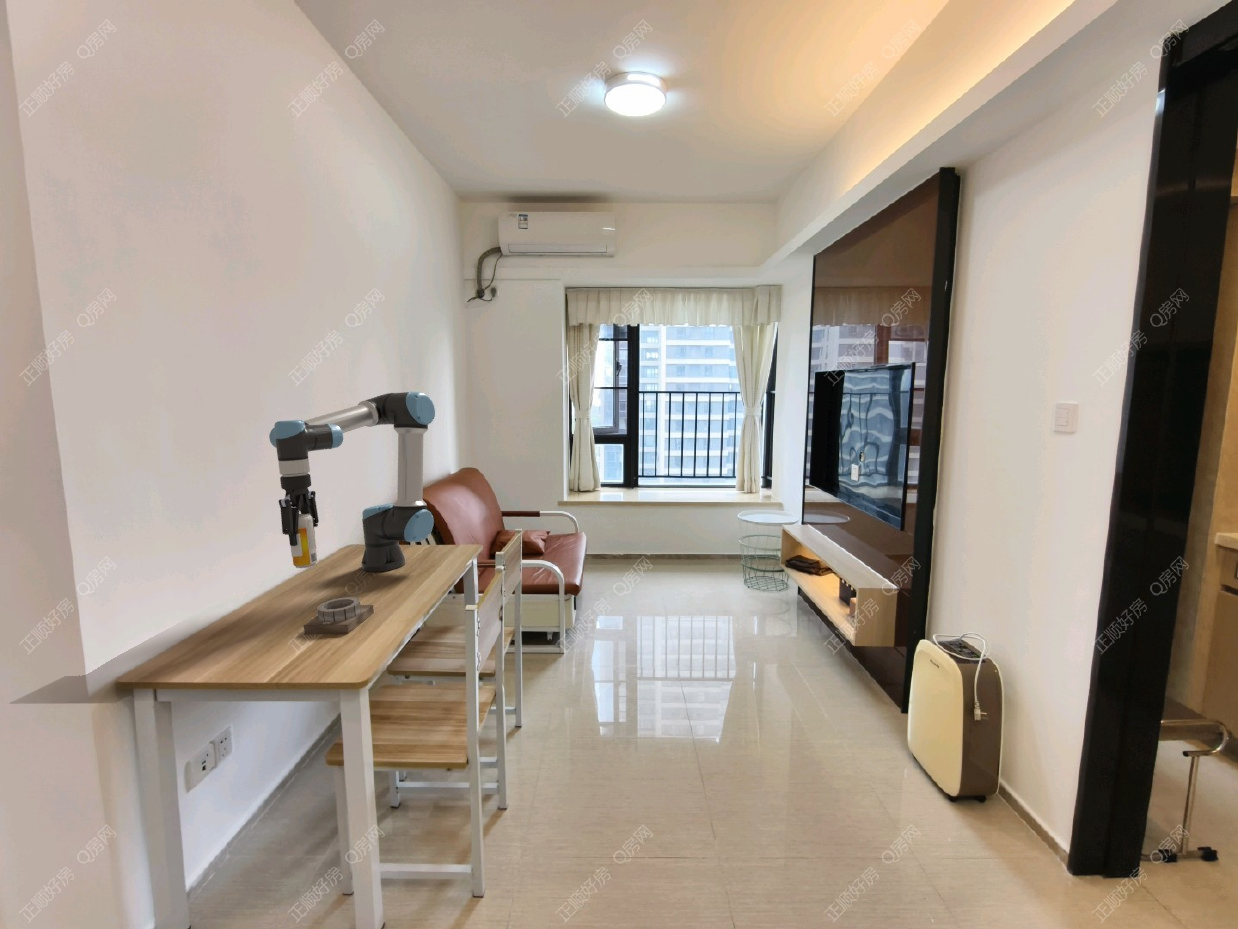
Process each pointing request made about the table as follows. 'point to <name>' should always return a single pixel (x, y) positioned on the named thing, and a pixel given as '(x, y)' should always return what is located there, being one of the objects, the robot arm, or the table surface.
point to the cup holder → (338, 616)
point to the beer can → (306, 543)
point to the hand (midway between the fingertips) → (304, 552)
